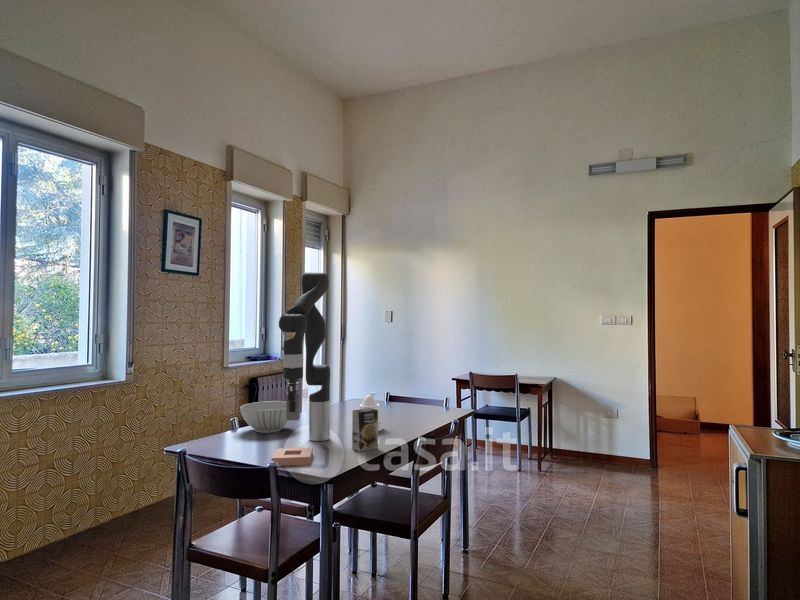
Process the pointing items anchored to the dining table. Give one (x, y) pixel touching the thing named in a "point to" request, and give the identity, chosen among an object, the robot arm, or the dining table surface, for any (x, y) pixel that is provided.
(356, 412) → the coffee box
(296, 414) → the plug
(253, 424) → the decorative bowl
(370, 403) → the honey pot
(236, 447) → the dining table surface
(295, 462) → the socket
